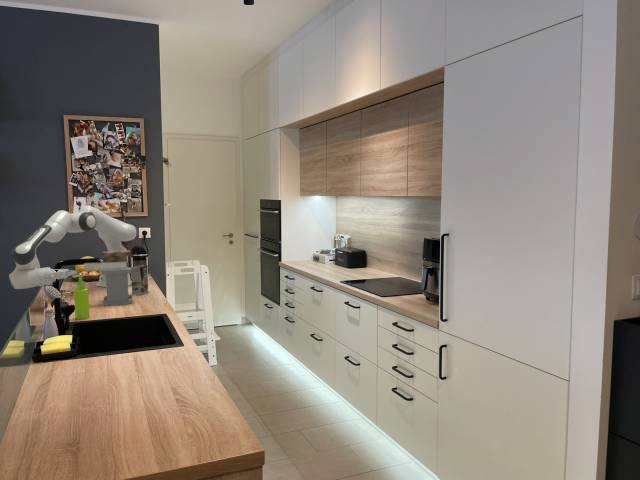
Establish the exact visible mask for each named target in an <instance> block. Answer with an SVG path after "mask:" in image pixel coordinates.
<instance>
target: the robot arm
mask: <svg viewBox="0 0 640 480" xmlns="http://www.w3.org/2000/svg"><path fill="white" fill-rule="evenodd" d="M93 230H95V231H97V234H98V237H99V238H100V239H101V240H102V241H103V243H104V244H105V246H106V249H107V251H128V250H127V248H126V247H125V246H123V244H122V242H129V241H133V240H134V239H135V238H136V237H137V234H138V232H137V231H138V230H137V228H136V226H135V225H133V224H130V223H126V222H124V221H122V220H119V219H116V218H114V217H112V216H110V215H108V214H106V213H105V212H103V211H102V210H100V209H98V207H97V208H96V207H94V206H92V205H88V204H87V205H83V206H82V207H80V208H79V210H78V212H73V213H70V212H69V211H66V210H64V209H62V210H58V211H56V212H54V213H53V214H52V215H51V216H50V218H48V219H47V221H46V222H45V223H44V224H41V225H39V226H38V227H37V228H36V229H35V230H33V232H32V233H30V235H29V236H27V237H26V239H24V241H21V243H19V244H18V245H16V246H15V247H13V249H12V250H11V253H10V255H11V258H12V260H13V261H14V263H15V265H16V266H15V268H14V270H13V271H12V272H11V273H8V281H9V282H10V283H9V284H10V286H11V288H13V289H14V290H23V289H24V290H26V289H31V288H34V287H44V286H43V285H46V286H51V285H53V283H55V282H56V279H57V280H63V279H67V278H68V277H70V276H75V275H78V274H79V273H80V271H79V269H75V270H70V269H69V268H64V269H63V268H60V269H57V270H58V271H57V272H56V271H55V270H56V269H54V268H51V267H50V266H47V267H41V265H40V261H39V258H38V256H37V248H38V247H39V246H40V245H41V243H42V242H43V241H46V242H49V243H58V242H60V241H61V240H62V239H63V238H64V237H65V236H66V234H70V233H73V234H74V233H77V234H78V233H83V232H84V233H85V232H90V231H93ZM127 268H130V263H129V256H127ZM130 274H131V273H128V287H129V286H132V279H131V275H130ZM94 286H96V287H100V288H106V275H101V274H100V275H99V279H98V282H97V283H95V285H94Z"/></svg>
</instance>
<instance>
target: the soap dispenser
mask: <svg viewBox="0 0 640 480" xmlns="http://www.w3.org/2000/svg"><path fill="white" fill-rule="evenodd" d="M83 277H85V274H75V275H71V278H74V279H77V278H78V280H77V282H76V288H75V289H74V290H73V297H74V298H73V300H74V301H73V302H74V318H75V319H76V320H84V319H85V320H86V319H88V318H90V303H89V302H90V301H89V300H90V299H89V298H90V297H89V288H86V282H85V281H83V279H84V278H83Z"/></svg>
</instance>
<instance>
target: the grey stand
mask: <svg viewBox="0 0 640 480" xmlns="http://www.w3.org/2000/svg"><path fill="white" fill-rule="evenodd" d="M128 273H130V274H131V267H129V268H127V269H121V270H101V274H100V275H106V287H105V288H106V296H107V300H104V299H103V300H102V306H103V307H109V306H120V305H123V306H124V305H133V297H132V298H128V295H129V286H128V284H127V274H128Z"/></svg>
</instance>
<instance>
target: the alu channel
mask: <svg viewBox="0 0 640 480" xmlns="http://www.w3.org/2000/svg"><path fill="white" fill-rule="evenodd" d="M121 269H127V265H126V261H124V262H107V261H103V262H87V263H86V262H85V263H83V272H99V271H102V270H121Z"/></svg>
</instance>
